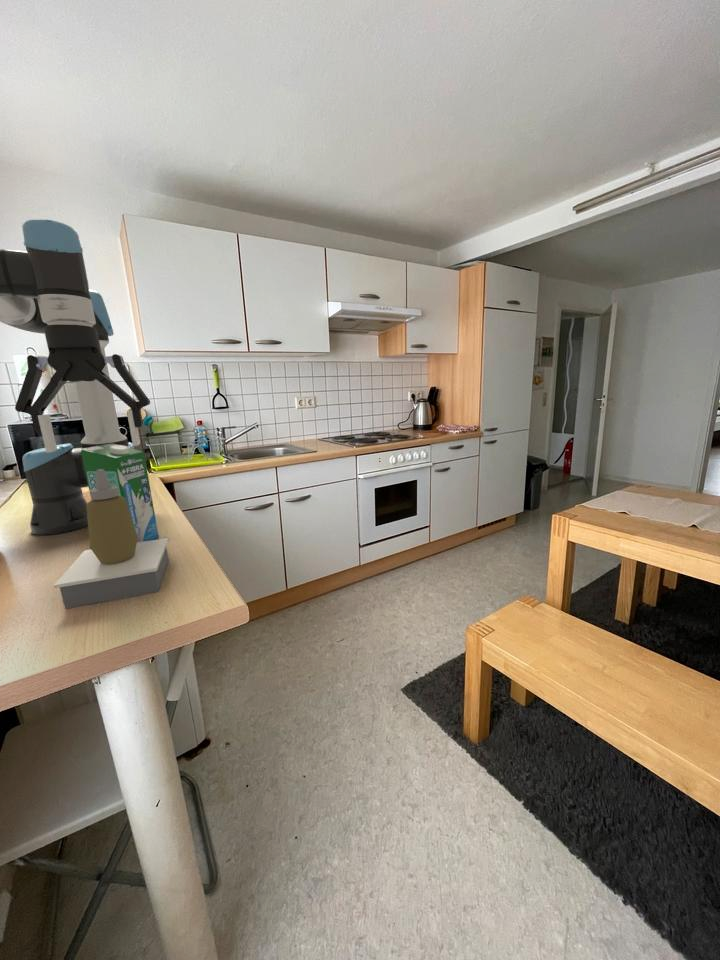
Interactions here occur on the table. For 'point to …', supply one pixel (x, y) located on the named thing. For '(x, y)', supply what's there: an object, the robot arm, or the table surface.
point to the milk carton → (125, 482)
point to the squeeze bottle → (110, 523)
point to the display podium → (114, 575)
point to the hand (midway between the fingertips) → (95, 448)
